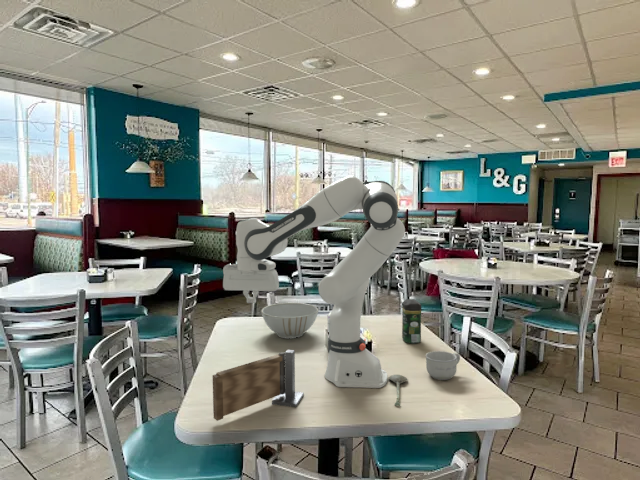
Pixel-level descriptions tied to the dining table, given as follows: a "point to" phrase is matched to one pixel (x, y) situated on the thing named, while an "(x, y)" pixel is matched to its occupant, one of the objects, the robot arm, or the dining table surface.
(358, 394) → the dining table surface
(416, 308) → the coffee jar
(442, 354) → the teacup
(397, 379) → the soupspoon
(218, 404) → the gate
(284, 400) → the gate post
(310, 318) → the decorative bowl
